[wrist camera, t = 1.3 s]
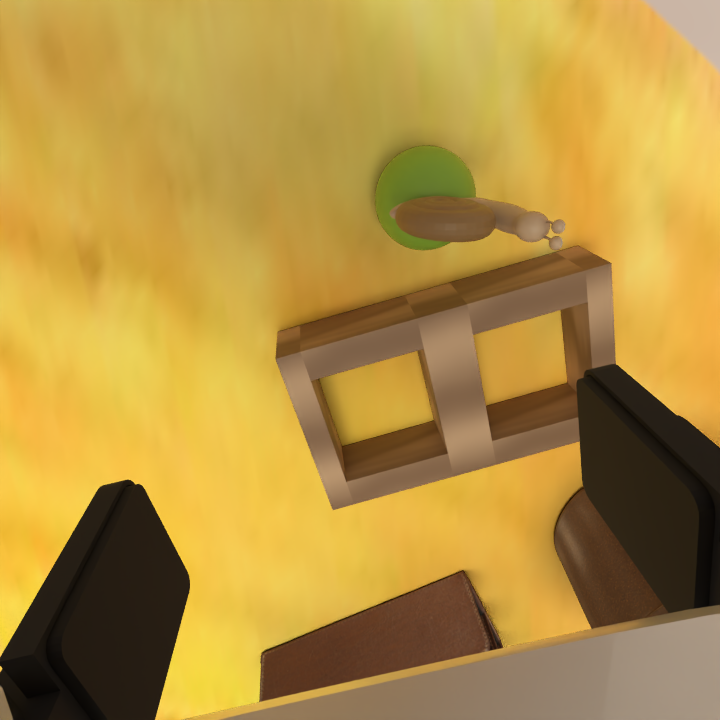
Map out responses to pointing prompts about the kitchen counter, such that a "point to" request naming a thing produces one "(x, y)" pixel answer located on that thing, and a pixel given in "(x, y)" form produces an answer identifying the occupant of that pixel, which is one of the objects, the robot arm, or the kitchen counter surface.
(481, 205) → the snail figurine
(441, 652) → the letter holder
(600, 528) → the plant pot
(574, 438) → the brown wooden flat frame
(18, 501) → the kitchen counter surface
